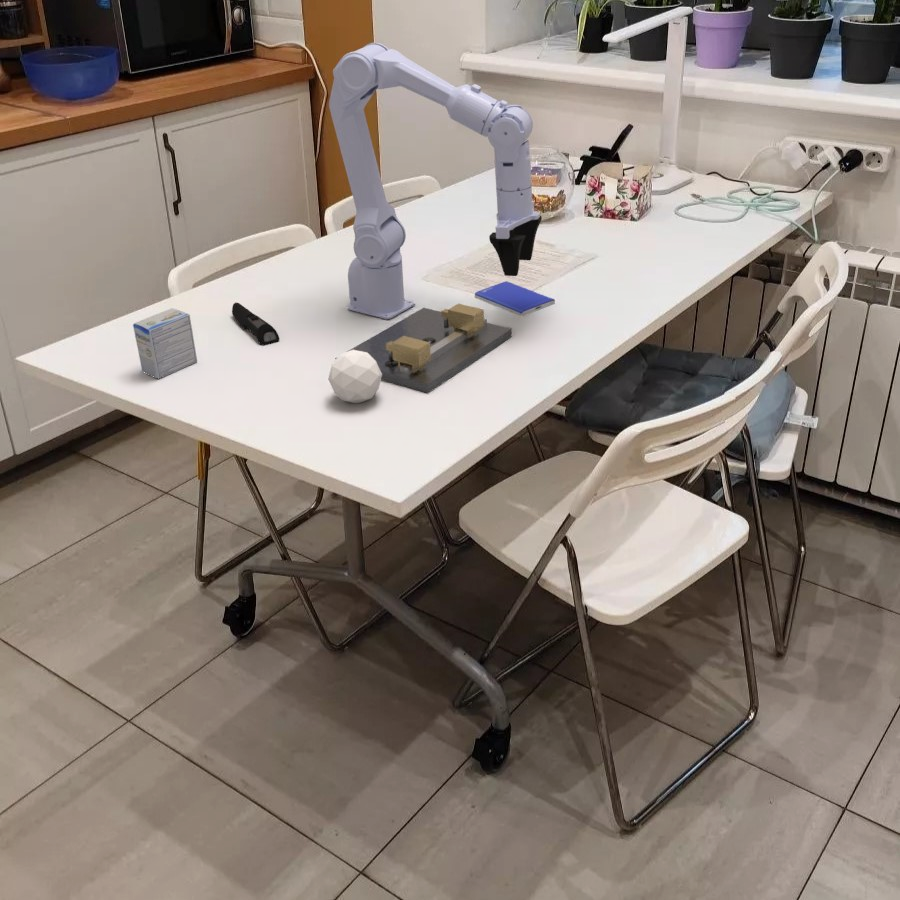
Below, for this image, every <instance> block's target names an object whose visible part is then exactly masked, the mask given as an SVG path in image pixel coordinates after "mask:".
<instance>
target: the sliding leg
mask: <svg viewBox="0 0 900 900" xmlns="http://www.w3.org/2000/svg"><path fill="white" fill-rule="evenodd" d="M440 312H441V317H444V328H449V326H450V327H454V332H456V331H457V330H459V329H462V330H466V331H467V338H470V337H471V336H473V335H474V334H476V333H478V332H479V329H480V328H482V327H483V326H484V318H485V310H484V309H482V308H479V307H475V306H471V305H467V304H462V303H456V304H455V305H453V306H451V307H450V308H448V309H447V308H444V309H443V310H441V311H440Z"/></svg>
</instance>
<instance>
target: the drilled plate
mask: <svg viewBox="0 0 900 900" xmlns="http://www.w3.org/2000/svg"><path fill="white" fill-rule="evenodd" d="M512 332H513V330H512V328H510V327H507V326H503V325H498V324H495V323H494V324H493V323H490V322H488V319H487V318H485V317H484V326H483V327H482V328H480V329H479V332H478V333H476V334H474V335H473V336H471V337H470V338H467V331H466V330H462V329H459V330H457V331H456V332H454V327H450V326H449V328H444V317H441V311H439V310H435V309H431V308H427V307H422V308H421V309H419V310H417V311H415V312H414V313H412V314H410V315H408V316H407V317H405V318H403V319H402V320H399V321H398V322H396V323H395V324H393V325H391V326H389V327H388V328H386V329H384V330H382V331H381V332H379V333H377V334H375V335H373V336H371V337H370V338H368V339H366V340H365V341H363V342H361V343H359V344H357V345H355V346H354V347H353V348H350V349H349V350H347V351H346V352H348V351H351V350H357V351H362V352H367V353H368V354H369V355H370V356H371V357H372V358H373V359H374V360H375V361H376V363H377V365H378V367H379V369H380V371H381V373H382V377H381V381H384V382H387V383H392V384H394V385H397V386H401V387H405V388H408V389H411V390H415V391H420V392H422V393H427V394H428V393H430V392H432V391H433V390H435V389H437V388H438V387H439V386H441V385H442V384H444V383H445V382H446V381H448V380H450V379H452V378H453V377H454V376H455V375H457V374H459V373H460V372H461V371H463V370H465V369H466V368H468V367H469V366H470V365H472V364H474V363H475V362H476V361H477V360H480V359H481V358H482V357H484V356H485V355H487V354H488V353H490V352H491V351H493V350H495V349H496V348H497V347H499V346H500V345H502V344H503V343H505V342H506V341H508V340H509V339H511V338H513V337H512V336H513V335H512V334H513V333H512ZM337 357H338V356H337ZM337 357H335V360H336V358H337ZM335 360H334V361H335Z"/></svg>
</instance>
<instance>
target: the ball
mask: <svg viewBox="0 0 900 900" xmlns="http://www.w3.org/2000/svg"><path fill="white" fill-rule="evenodd" d="M347 351H348V352H347ZM347 351H345V352H342V353H340V354H338V356H337V358H336V357H335V358H336V360H334V361H333V362H332V364H331V368H330V370H329V375H328V378H327V380H328V382H329V384H330V386H331V388H332V390H333V393H334V394H335V395H336V396H337V397H338V398H340V400H342V401H343V402H348V403H353V404H360V403H363V402H365V401H368V400H371V399H372V398H373V397H374V395H376V393H377V392H378V390H379V388H380V385H381V381H382V380H381V377H382V373H381V371H380V369H379V367H378V365H377V363H376V361H375V360H374V359H373V358H372V357H371V356H370V355H369V354H368V353H367V352H362V351H357V350H351V351H349V350H347Z"/></svg>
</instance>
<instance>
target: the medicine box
mask: <svg viewBox="0 0 900 900" xmlns="http://www.w3.org/2000/svg"><path fill="white" fill-rule="evenodd" d="M132 328H133V332H134V337H135V342H136V346H137V352H138V356H139V357H138V358H139V361H140V366H141V370H142V372H143V373H144V372H145V373H147V374H146V375H148V374H149V375H148V376H150V375H152V376H154V377H156V378H155V379H157V378H158V379H157V380H159V378H160V379H162V378H165V377H166V376H169V375H171V374H173V373H175V372H177V371H181V370H182V369H184V368H186V367H188V366H190V365H193V364H195V363H197V362H198V357H197V351H196V345H195V339H194V333H193V325H192V321H191V315H190V314H189V313H187V312H185V311H182V310H180V309H177V308H169V309H167V310H164V311H161V312H158V313H156V314H154V315H151V316H149V317H146V318H144V319H142V320H139V321H137V322H134V323H133V324H132ZM145 373H144V374H145ZM152 376H151V377H152ZM154 377H153V378H154ZM161 377H162V378H161Z"/></svg>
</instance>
